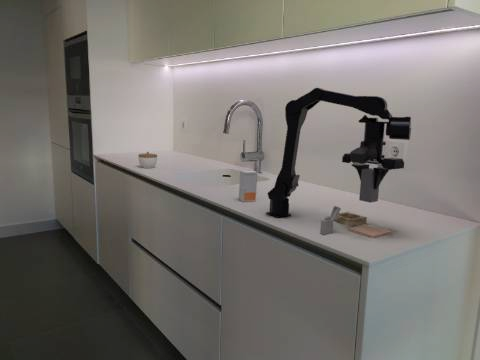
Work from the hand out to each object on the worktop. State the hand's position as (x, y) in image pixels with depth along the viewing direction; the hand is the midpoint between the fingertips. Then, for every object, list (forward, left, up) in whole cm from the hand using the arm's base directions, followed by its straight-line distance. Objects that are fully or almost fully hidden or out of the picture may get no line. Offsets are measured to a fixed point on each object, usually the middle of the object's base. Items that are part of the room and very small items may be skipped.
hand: (369, 188), depth 126 cm
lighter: (-3, -13, -14) cm, 19 cm away
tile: (+2, -1, -13) cm, 14 cm away
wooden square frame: (-9, +3, -13) cm, 16 cm away
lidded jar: (-146, -9, -14) cm, 147 cm away
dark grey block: (0, 0, -4) cm, 4 cm away
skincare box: (-50, -9, -14) cm, 52 cm away
